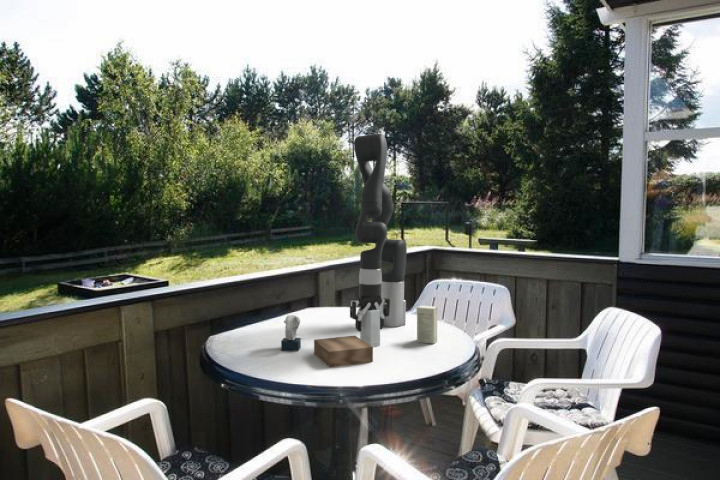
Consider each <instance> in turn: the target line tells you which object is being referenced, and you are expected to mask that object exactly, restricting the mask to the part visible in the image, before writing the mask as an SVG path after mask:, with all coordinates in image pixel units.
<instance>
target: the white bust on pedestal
mask: <svg viewBox="0 0 720 480" xmlns="http://www.w3.org/2000/svg"><path fill="white" fill-rule="evenodd" d="M283 324H285V330H284V332H285V333H284V334H285V337H283V338H282V339H281V341H280V342H281V343H280V349H281V351H283V352H299V351H300V349H301V347H302V346H301V344H302V342H301V341H302V340H301V337H296V336H297V332H298V331H297V330H298V329H299V326H300V325H301V319H300V317H298V316H297V315H294V314H291V315H289V314H288V315H286V317H285V320H283Z"/></svg>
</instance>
